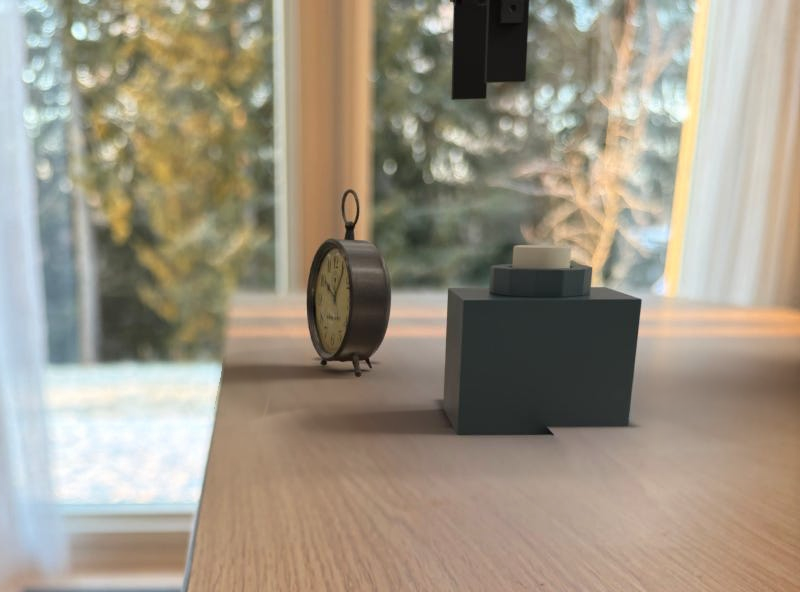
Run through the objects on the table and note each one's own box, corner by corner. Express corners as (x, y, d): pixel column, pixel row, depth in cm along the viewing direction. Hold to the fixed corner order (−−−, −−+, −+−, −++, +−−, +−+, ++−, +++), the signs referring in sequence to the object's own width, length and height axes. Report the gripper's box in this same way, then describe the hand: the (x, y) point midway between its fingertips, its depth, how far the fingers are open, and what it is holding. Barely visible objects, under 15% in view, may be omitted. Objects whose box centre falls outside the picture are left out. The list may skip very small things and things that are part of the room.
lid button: (562, 270, 77) (564, 244, 76) (574, 274, 73) (577, 247, 72) (507, 270, 77) (509, 244, 76) (517, 274, 73) (518, 247, 72)
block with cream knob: (594, 408, 84) (608, 261, 79) (627, 435, 74) (645, 270, 70) (443, 409, 84) (448, 262, 79) (457, 436, 74) (464, 271, 70)
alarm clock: (303, 365, 106) (301, 189, 100) (353, 362, 108) (354, 189, 101) (346, 381, 97) (347, 188, 90) (399, 377, 98) (404, 188, 92)
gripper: (416, -199, 82) (413, 105, 90) (477, -353, 59) (465, 74, 67) (511, -200, 83) (499, 103, 91) (609, -353, 60) (581, 71, 68)
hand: (485, 91), depth 79 cm, fingers open, 13 cm apart
